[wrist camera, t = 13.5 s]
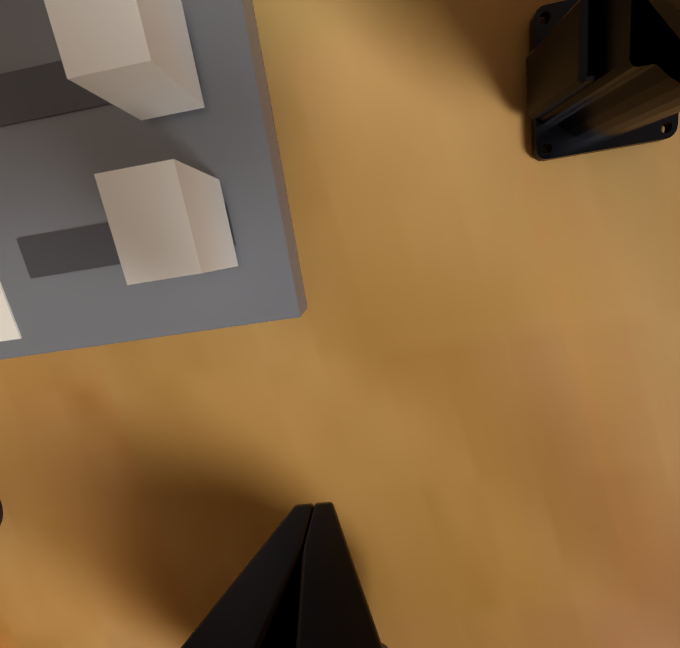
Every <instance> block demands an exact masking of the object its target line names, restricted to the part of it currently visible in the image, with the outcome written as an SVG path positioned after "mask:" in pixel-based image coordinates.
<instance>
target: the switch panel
mask: <svg viewBox="0 0 680 648" xmlns="http://www.w3.org/2000/svg"><path fill="white" fill-rule="evenodd" d="M181 2H182V7H183V11H184V16H185V20H186V25H187V29H188V34H189V39H190V43H191V48H192V52H193V57H194V61H195V66H196V70H197V75H198V79H199V84H200V89H201V93H202V98H203V102H204V107H205V108H200V109H195V110H190V111H185V112H180V113H175V114H170V115H166V116H161V117H156V118H151V119H146V120H140V119H138V118H136V117H134V116H133V115H131V114H129V113H127V112H125V111H124V110H122V109H120V108H118V107H117V106H115V105H113V104H111V103H109V102H108V101H106V100H104V99H102V98H101V97H99V96H97V95H95V94H93V93H92V92H90V91H88V90H86V89H85V88H83V87H81V86H79V85H77V84H76V83H74V82H72V81H70V80H69V79H67V77H66V73H65V70H64V67H63V63H62V60H61V56H60V53H59V50H58V46H57V43H56V40H55V36H54V33H53V30H52V26H51V23H50V20H49V16H48V13H47V9H46V6H45V3H44V0H0V359H7V358H14V357H21V356H28V355H35V354H42V353H49V352H56V351H64V350H71V349H78V348H85V347H92V346H99V345H106V344H113V343H120V342H127V341H134V340H141V339H148V338H155V337H162V336H169V335H176V334H183V333H190V332H197V331H204V330H211V329H218V328H225V327H232V326H239V325H247V324H254V323H261V322H268V321H275V320H282V319H289V318H296V317H301V315H302V314H303V313H304V311H305V310H306V309H307V303H306V298H305V292H304V287H303V281H302V275H301V270H300V264H299V259H298V253H297V248H296V242H295V236H294V231H293V225H292V220H291V214H290V209H289V203H288V197H287V192H286V186H285V181H284V175H283V170H282V164H281V158H280V153H279V147H278V142H277V136H276V131H275V125H274V120H273V114H272V108H271V103H270V97H269V92H268V86H267V81H266V75H265V69H264V64H263V58H262V53H261V47H260V42H259V36H258V30H257V25H256V19H255V14H254V8H253V3H252V0H181ZM171 159H175V160H177V161H179V162H181V163H184V164H186V165H188V166H190V167H193V168H195V169H197V170H199V171H201V172H204V173H206V174H208V175H210V176H212V177H215V178H217V179H219V181H220V185H221V190H222V194H223V199H224V203H225V208H226V212H227V217H228V221H229V226H230V230H231V235H232V239H233V244H234V249H235V253H236V258H237V262H238V266H236V267H231V268H226V269H221V270H216V271H211V272H206V273H201V274H195V275H188V276H182V277H176V278H169V279H163V280H157V281H150V282H144V283H138V284H131V285H127V283H126V280H125V276H124V273H123V270H122V266H121V263H120V260H119V256H118V253H117V250H116V246H115V243H114V240H113V236H112V233H111V230H110V226H109V223H108V219H107V216H106V213H105V209H104V206H103V203H102V199H101V196H100V193H99V189H98V186H97V183H96V179H95V176H94V174H97V173H102V172H107V171H113V170H118V169H123V168H128V167H134V166H139V165H144V164H150V163H155V162H160V161H166V160H171Z"/></svg>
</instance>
